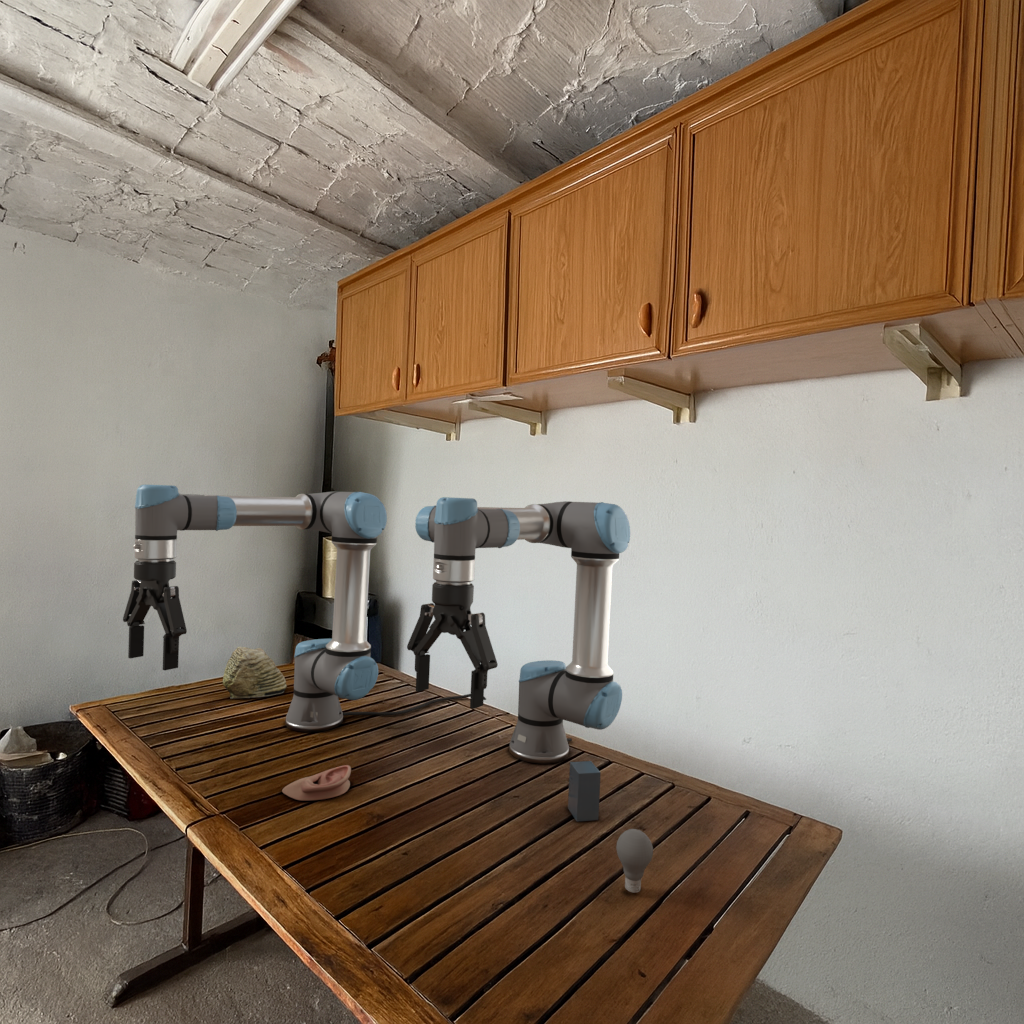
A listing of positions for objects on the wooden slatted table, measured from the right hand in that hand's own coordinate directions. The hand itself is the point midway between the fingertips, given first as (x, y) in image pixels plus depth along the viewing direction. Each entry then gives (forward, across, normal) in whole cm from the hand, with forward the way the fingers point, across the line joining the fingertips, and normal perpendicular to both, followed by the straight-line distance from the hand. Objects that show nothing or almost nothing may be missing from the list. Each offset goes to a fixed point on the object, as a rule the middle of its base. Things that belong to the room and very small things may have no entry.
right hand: (448, 698), depth 115 cm
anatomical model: (+28, -36, -2) cm, 45 cm away
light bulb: (+28, +32, +12) cm, 44 cm away
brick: (+28, +12, +29) cm, 42 cm away
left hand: (0, -58, -26) cm, 64 cm away
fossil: (+28, -104, +24) cm, 110 cm away
